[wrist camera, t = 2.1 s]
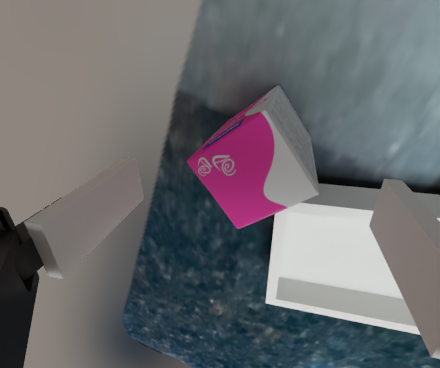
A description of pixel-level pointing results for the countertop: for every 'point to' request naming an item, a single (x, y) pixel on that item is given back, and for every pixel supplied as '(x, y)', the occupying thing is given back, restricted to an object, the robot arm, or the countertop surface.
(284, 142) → the supplement box
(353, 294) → the tray
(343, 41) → the countertop surface
